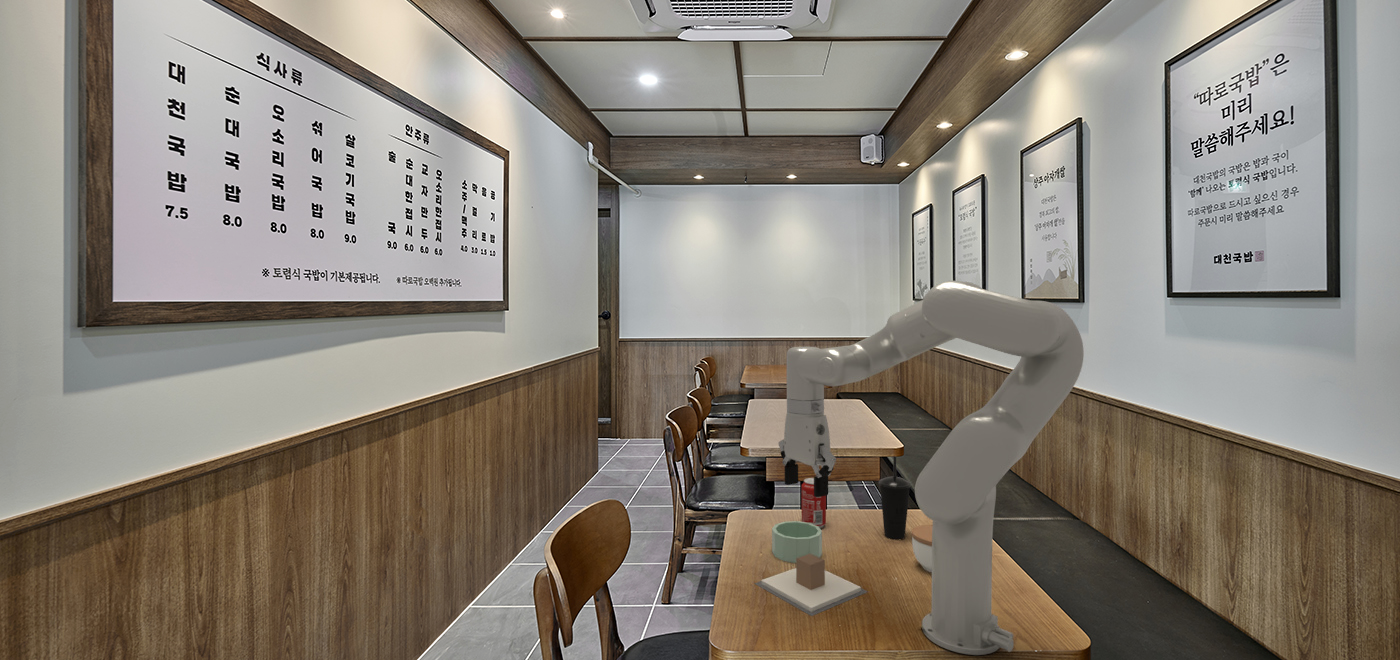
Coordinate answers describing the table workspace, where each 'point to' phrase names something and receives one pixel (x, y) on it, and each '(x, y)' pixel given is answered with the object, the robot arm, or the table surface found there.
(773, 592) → the mat
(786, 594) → the lid
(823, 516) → the beverage can
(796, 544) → the bowl
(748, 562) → the table surface
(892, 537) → the drinking cup
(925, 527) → the lidded jar
